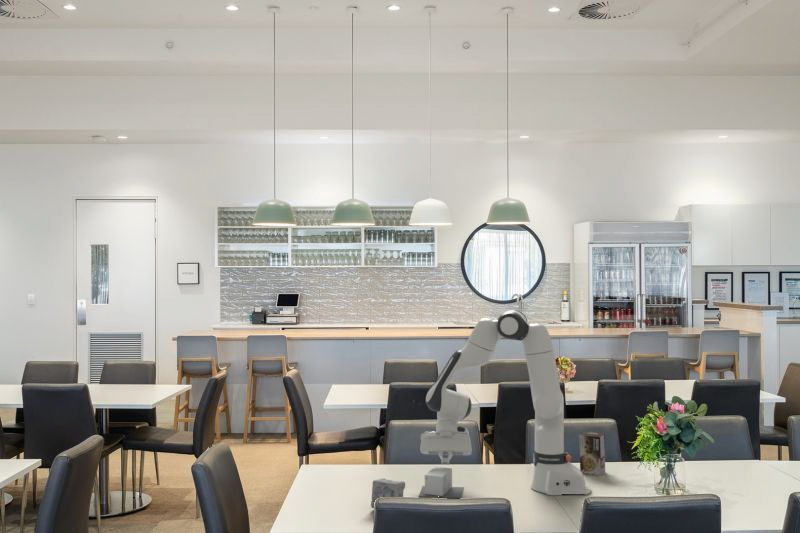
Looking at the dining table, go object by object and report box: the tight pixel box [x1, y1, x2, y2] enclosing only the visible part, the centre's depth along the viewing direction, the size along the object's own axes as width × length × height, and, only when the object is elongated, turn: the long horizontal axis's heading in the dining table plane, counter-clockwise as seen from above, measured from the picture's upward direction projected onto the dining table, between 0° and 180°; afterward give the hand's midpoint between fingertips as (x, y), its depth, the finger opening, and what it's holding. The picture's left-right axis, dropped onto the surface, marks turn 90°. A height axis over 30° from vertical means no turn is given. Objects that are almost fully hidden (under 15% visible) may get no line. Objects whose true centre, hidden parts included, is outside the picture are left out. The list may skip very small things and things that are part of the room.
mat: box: [418, 485, 464, 499], centre depth 269 cm, size 16×13×1 cm
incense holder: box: [370, 477, 406, 509], centre depth 250 cm, size 10×8×10 cm
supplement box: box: [424, 466, 453, 496], centre depth 270 cm, size 7×7×13 cm
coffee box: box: [578, 431, 606, 476], centre depth 295 cm, size 9×6×16 cm
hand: (445, 463), depth 274 cm, fingers closed
